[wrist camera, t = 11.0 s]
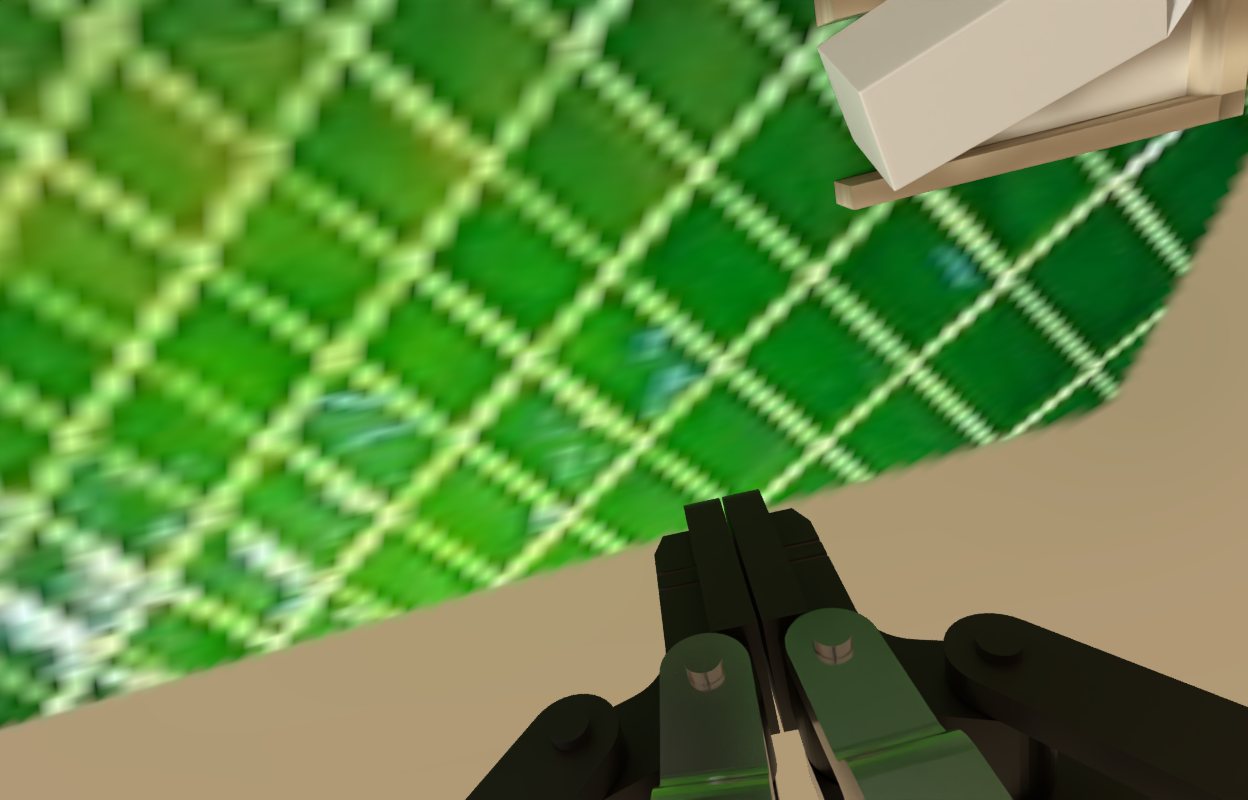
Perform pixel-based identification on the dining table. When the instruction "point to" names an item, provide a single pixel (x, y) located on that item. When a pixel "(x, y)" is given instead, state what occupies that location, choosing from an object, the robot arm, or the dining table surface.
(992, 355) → the dining table surface
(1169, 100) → the u rest
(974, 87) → the milk carton
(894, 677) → the robot arm
